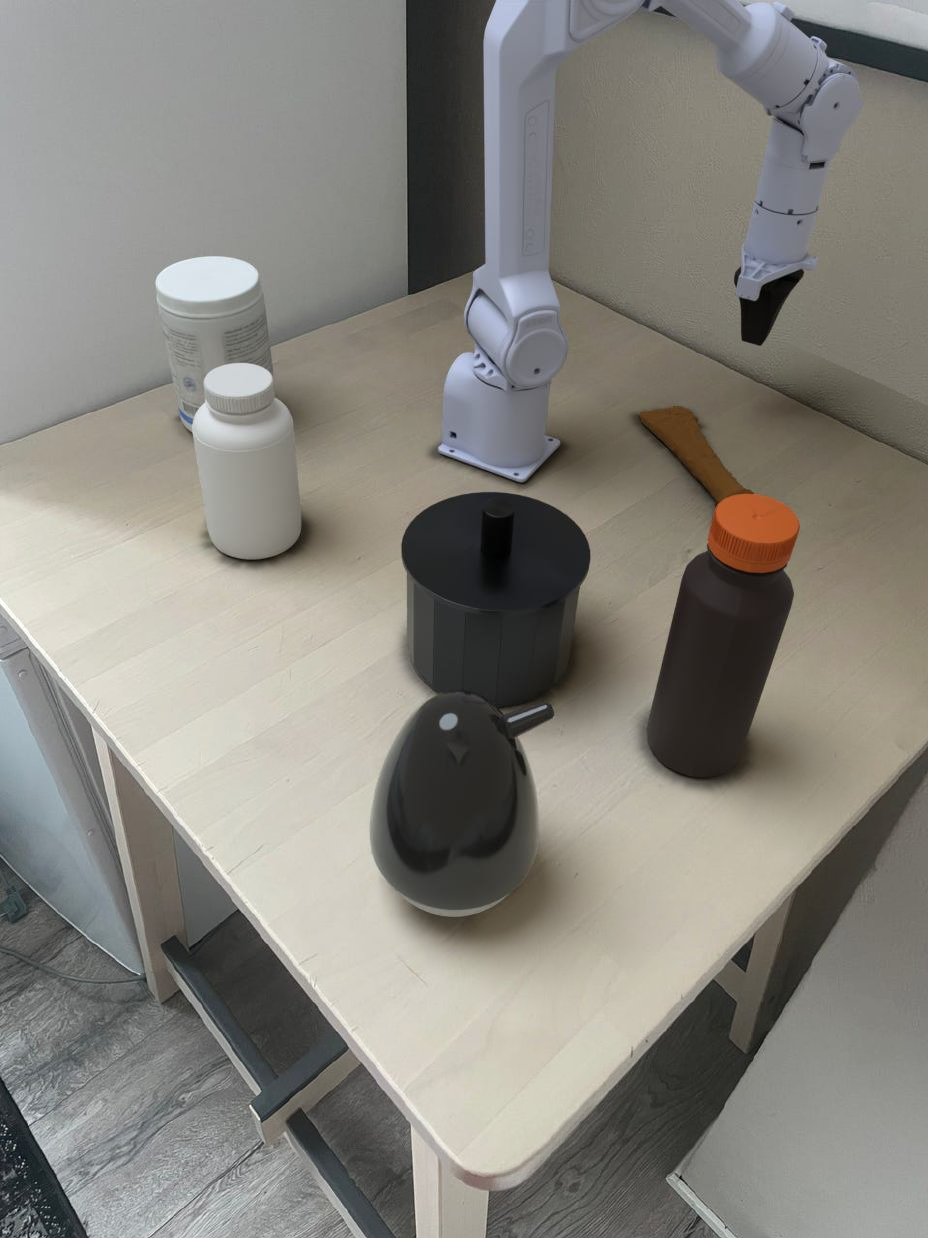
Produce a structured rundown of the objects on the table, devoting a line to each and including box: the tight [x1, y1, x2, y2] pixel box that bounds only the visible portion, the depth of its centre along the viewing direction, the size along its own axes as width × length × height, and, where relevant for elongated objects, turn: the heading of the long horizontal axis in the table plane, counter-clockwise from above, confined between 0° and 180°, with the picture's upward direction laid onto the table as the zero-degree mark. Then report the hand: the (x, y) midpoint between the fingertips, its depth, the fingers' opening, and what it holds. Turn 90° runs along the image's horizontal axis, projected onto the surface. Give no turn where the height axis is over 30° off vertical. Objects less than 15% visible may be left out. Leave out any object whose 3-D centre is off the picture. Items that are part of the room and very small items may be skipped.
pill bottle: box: [191, 363, 302, 560], centre depth 84 cm, size 8×8×15 cm
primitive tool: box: [638, 405, 755, 504], centre depth 98 cm, size 19×6×4 cm, turn 15°
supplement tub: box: [155, 255, 277, 434], centre depth 97 cm, size 10×10×15 cm
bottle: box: [645, 493, 801, 778], centre depth 66 cm, size 7×7×20 cm
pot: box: [406, 573, 581, 708], centre depth 76 cm, size 12×12×10 cm
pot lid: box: [400, 491, 592, 616], centre depth 72 cm, size 13×13×5 cm
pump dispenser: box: [368, 690, 555, 918], centre depth 60 cm, size 10×10×15 cm
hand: (753, 340), depth 102 cm, fingers closed
